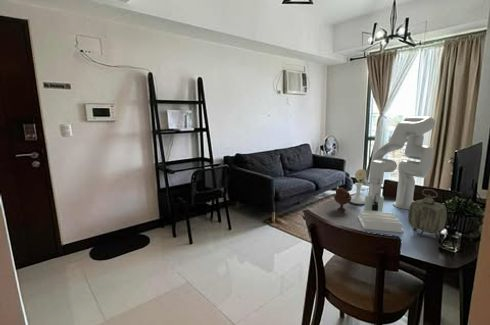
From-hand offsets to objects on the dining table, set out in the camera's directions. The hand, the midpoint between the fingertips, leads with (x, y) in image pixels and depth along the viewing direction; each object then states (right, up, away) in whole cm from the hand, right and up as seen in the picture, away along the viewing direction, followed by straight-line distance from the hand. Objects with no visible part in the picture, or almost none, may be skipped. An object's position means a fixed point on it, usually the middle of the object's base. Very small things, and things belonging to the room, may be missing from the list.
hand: (373, 208), depth 163 cm
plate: (0, -4, +1) cm, 4 cm away
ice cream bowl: (-17, -3, +9) cm, 19 cm away
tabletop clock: (+13, -10, -26) cm, 31 cm away
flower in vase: (-1, 0, +21) cm, 21 cm away
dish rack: (-3, -7, -13) cm, 16 cm away
